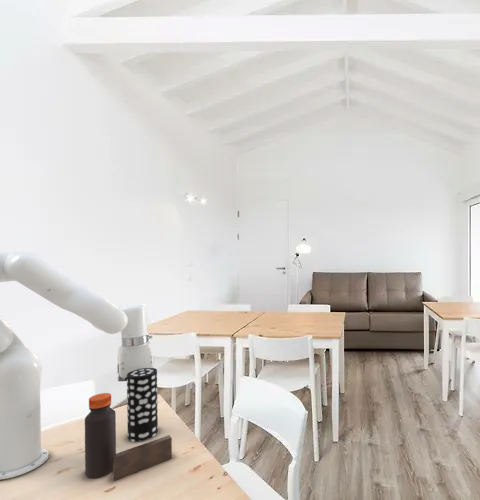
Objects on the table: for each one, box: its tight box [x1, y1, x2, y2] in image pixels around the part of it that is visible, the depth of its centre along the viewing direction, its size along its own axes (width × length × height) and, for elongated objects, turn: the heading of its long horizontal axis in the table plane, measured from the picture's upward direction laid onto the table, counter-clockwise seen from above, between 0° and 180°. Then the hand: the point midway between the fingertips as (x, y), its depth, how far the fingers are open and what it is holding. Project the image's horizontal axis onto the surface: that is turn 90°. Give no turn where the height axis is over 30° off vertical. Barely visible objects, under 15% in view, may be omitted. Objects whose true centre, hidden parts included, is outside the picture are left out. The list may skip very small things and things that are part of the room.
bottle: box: [84, 392, 117, 479], centre depth 95 cm, size 7×7×20 cm
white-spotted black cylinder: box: [126, 367, 159, 443], centre depth 113 cm, size 8×8×20 cm
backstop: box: [111, 434, 173, 482], centre depth 96 cm, size 14×2×6 cm, turn 134°
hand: (136, 394), depth 120 cm, fingers closed
